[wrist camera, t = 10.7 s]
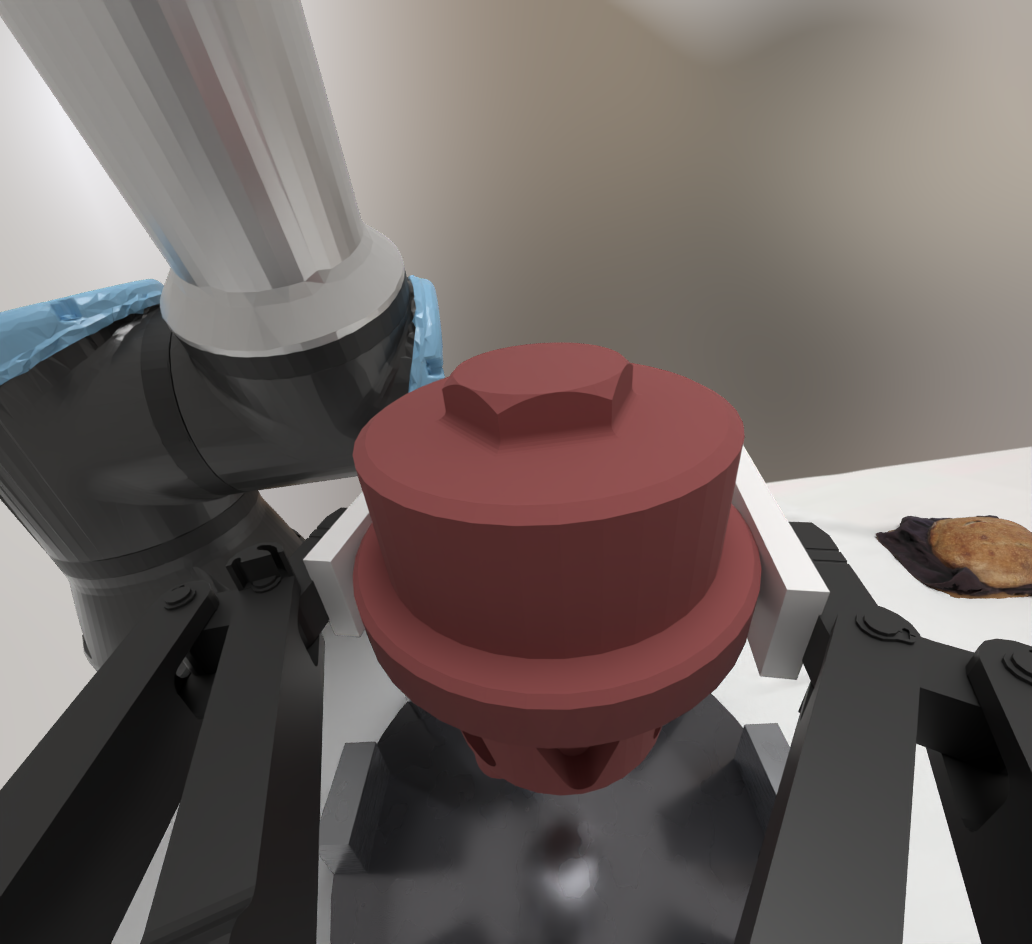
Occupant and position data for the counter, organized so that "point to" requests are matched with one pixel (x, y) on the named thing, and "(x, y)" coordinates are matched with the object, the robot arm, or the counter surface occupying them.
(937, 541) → the bread roll
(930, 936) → the counter surface
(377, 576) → the mechanical component
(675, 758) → the castellated collar
